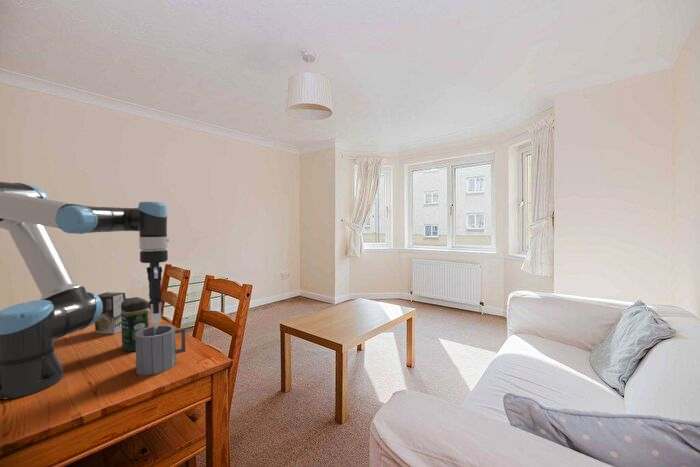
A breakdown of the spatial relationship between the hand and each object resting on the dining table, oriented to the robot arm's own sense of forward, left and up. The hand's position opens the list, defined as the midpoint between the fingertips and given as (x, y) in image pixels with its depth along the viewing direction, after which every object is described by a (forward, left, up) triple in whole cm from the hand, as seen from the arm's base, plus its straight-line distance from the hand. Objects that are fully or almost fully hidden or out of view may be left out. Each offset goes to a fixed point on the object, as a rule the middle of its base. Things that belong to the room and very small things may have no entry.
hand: (155, 320), depth 98 cm
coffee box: (-13, +47, -16) cm, 51 cm away
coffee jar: (-5, +22, -16) cm, 27 cm away
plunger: (0, 0, -10) cm, 10 cm away
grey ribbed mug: (+2, 0, -15) cm, 16 cm away
